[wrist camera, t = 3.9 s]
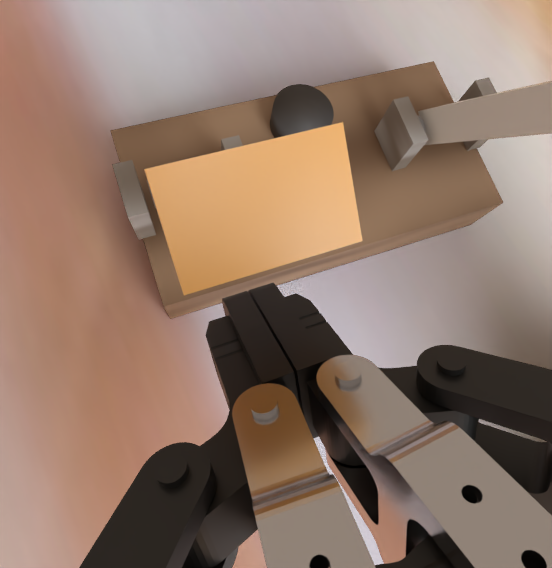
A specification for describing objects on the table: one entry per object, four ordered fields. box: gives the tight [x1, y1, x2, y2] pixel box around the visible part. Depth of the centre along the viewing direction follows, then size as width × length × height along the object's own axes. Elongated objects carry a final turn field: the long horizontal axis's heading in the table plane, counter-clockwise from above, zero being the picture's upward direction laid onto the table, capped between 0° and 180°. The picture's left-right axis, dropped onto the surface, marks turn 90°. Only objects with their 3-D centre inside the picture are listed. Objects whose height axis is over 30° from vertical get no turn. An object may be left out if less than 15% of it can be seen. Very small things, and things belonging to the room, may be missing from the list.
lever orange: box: [144, 122, 363, 295], centre depth 13 cm, size 2×3×13 cm, turn 109°
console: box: [111, 61, 503, 319], centre depth 22 cm, size 9×18×6 cm, turn 109°
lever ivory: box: [418, 81, 552, 145], centre depth 16 cm, size 2×3×13 cm, turn 109°
